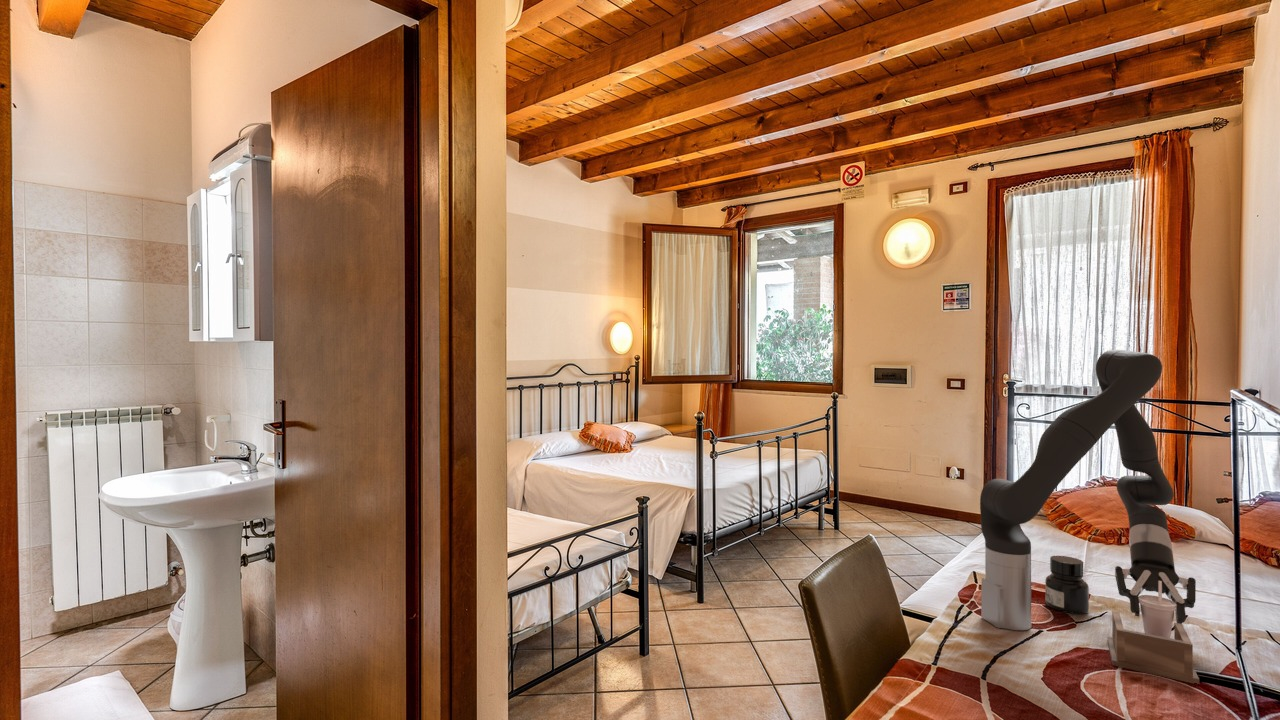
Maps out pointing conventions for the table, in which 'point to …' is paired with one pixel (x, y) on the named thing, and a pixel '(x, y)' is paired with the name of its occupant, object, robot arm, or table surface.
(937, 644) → the table surface
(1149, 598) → the smoothie
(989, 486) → the robot arm
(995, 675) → the table surface
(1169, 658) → the bottle stand
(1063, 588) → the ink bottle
